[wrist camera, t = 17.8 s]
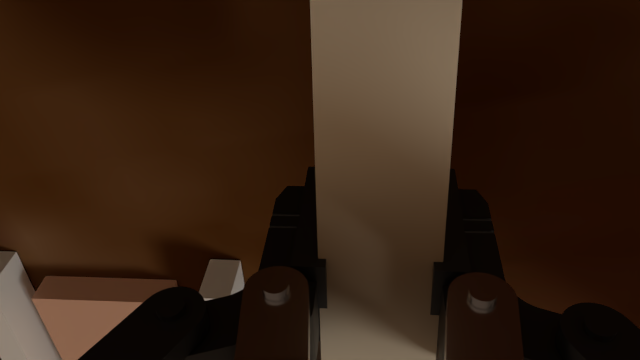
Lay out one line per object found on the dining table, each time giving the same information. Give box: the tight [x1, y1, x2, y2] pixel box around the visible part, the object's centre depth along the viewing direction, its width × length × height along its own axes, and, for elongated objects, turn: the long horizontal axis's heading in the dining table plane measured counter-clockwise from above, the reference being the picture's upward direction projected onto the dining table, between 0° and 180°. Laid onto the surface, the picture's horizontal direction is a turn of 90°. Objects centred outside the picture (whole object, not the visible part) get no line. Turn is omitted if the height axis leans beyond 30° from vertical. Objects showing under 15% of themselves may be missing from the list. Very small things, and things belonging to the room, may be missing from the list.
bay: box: [0, 251, 244, 360], centre depth 32 cm, size 12×13×2 cm
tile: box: [31, 276, 178, 360], centre depth 32 cm, size 7×7×2 cm
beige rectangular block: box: [310, 0, 462, 360], centre depth 14 cm, size 11×6×5 cm, turn 3°
